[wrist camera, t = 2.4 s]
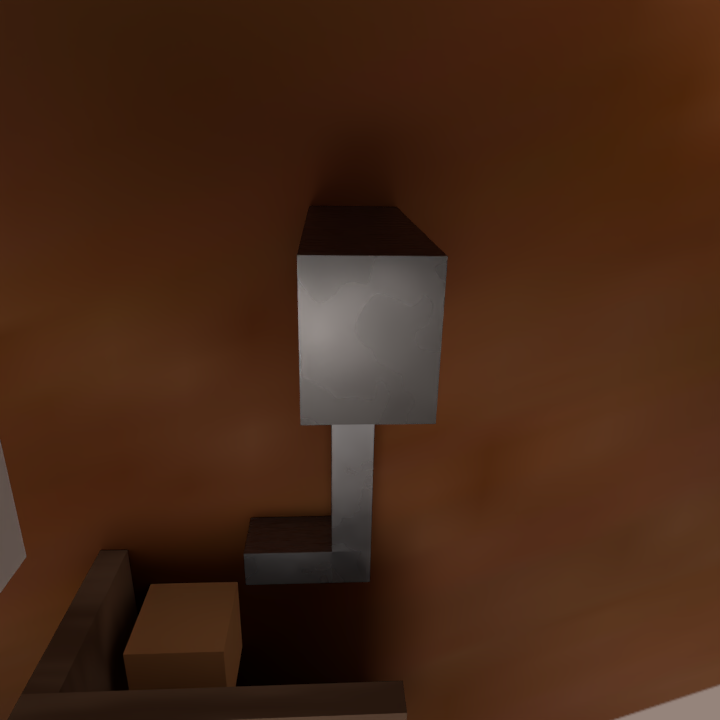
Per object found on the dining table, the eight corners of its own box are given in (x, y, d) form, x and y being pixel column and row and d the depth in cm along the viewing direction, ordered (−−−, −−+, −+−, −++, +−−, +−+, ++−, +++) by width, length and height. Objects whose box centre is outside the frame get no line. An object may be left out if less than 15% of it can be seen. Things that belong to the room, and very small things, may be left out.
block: (151, 582, 34) (122, 654, 29) (237, 580, 34) (223, 651, 29) (160, 647, 35) (135, 724, 31) (242, 645, 36) (229, 721, 31)
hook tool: (231, 204, 26) (161, 253, 15) (396, 206, 27) (447, 256, 15) (252, 547, 33) (215, 756, 22) (383, 544, 33) (411, 748, 22)
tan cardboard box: (100, 550, 32) (2, 728, 23) (383, 544, 33) (407, 713, 24) (129, 715, 37) (58, 921, 27) (376, 705, 38) (394, 902, 28)
